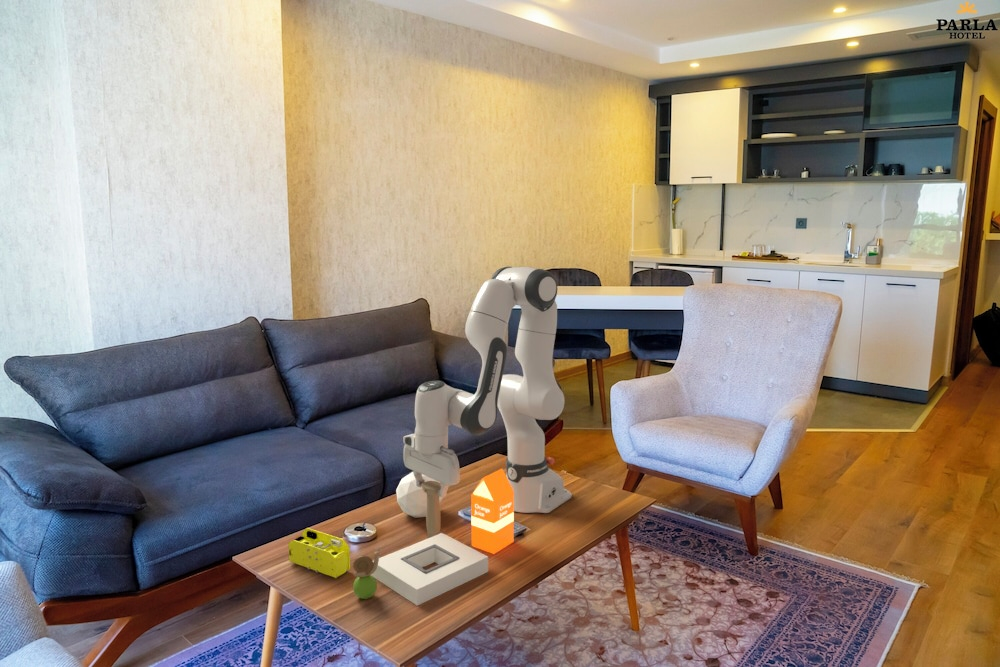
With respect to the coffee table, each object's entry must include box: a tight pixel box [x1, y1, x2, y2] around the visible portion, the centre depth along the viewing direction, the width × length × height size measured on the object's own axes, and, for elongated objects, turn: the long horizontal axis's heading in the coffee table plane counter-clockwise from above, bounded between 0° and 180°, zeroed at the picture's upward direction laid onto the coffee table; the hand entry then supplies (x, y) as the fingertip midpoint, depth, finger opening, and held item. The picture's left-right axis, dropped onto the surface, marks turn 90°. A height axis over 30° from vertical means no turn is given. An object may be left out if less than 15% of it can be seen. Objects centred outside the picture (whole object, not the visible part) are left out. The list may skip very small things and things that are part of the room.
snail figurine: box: [352, 546, 381, 600], centre depth 167 cm, size 5×6×12 cm
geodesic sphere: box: [395, 471, 443, 519], centre depth 210 cm, size 14×14×14 cm
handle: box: [422, 481, 442, 538], centre depth 197 cm, size 5×6×15 cm
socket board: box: [371, 532, 489, 606], centre depth 178 cm, size 22×18×4 cm
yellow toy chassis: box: [288, 527, 351, 579], centre depth 181 cm, size 16×6×8 cm, turn 59°
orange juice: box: [470, 468, 515, 555], centre depth 192 cm, size 8×9×20 cm
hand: (431, 491), depth 195 cm, fingers open, 8 cm apart
